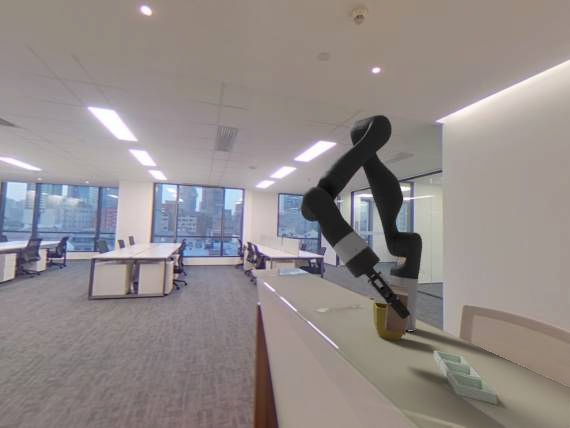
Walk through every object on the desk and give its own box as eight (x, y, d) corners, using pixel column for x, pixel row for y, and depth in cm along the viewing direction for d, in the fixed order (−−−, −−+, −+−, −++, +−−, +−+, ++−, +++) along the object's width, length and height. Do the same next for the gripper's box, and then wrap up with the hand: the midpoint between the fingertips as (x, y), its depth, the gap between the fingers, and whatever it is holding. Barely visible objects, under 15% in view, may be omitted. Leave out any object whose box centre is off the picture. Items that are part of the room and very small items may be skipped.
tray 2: (439, 369, 60) (440, 359, 60) (471, 376, 58) (471, 366, 58) (446, 381, 54) (447, 370, 54) (481, 389, 52) (482, 378, 52)
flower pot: (407, 345, 74) (409, 312, 75) (374, 339, 76) (376, 307, 77) (400, 336, 82) (402, 306, 83) (370, 330, 84) (372, 301, 85)
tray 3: (447, 382, 54) (448, 371, 54) (482, 390, 52) (483, 379, 52) (456, 397, 48) (457, 385, 48) (496, 407, 46) (496, 394, 46)
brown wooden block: (384, 326, 63) (388, 283, 65) (403, 330, 62) (406, 286, 63) (385, 331, 60) (389, 285, 61) (405, 335, 58) (408, 288, 60)
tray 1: (433, 358, 66) (433, 350, 66) (461, 365, 64) (461, 356, 64) (439, 368, 60) (439, 359, 60) (470, 375, 58) (470, 365, 59)
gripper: (367, 243, 59) (425, 310, 54) (368, 245, 72) (414, 300, 67) (340, 264, 60) (394, 332, 55) (346, 262, 73) (390, 317, 68)
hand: (405, 314), depth 61 cm, fingers closed on brown wooden block, 4 cm apart
